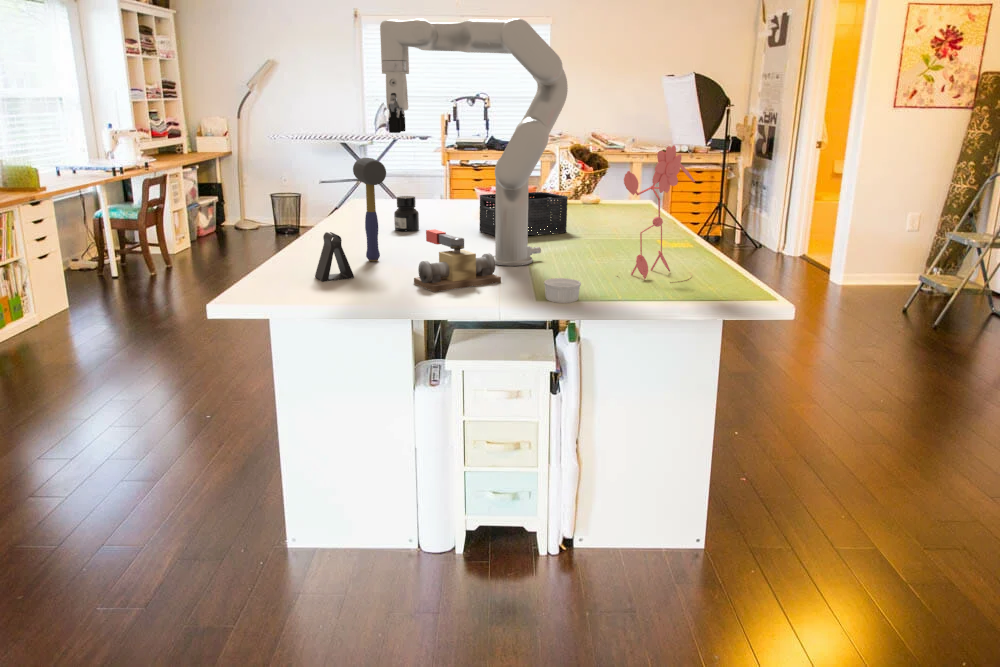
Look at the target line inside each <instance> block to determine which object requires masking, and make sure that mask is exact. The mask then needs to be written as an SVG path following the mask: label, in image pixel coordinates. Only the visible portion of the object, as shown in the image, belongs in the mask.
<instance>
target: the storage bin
mask: <svg viewBox="0 0 1000 667" xmlns="http://www.w3.org/2000/svg"><path fill="white" fill-rule="evenodd" d="M495 209H496V193H489V194H488V193H487V194H480V195H479V232H481V233H485V234H486V235H487V234H488V235H490V236H494V237H495ZM567 218H568V196H566V195H562V194H561V195H560V194H556V193H550V192H545V191H544V192H543V191H542V192H541V191H533V192H528V227H529V228H528V230H529V231H528V235H537V236H539V235H538V234H550V235H553V234H552V233H561V234H565V233H564V232H566V233H567V227H568V226H567V223H568V219H567ZM547 226H548V227H547ZM531 227H532V228H531ZM556 228H557V229H556ZM540 229H541V230H540ZM544 229H545V230H544ZM531 230H532V231H531ZM550 231H551V232H550ZM537 232H538V233H537Z"/></svg>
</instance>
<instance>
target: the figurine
mask: <svg viewBox="0 0 1000 667" xmlns="http://www.w3.org/2000/svg"><path fill="white" fill-rule="evenodd" d="M656 157H657V158H656V159H657V161H658V162H657V164H656V165H655V167H654V174H653V177H652V185H651V186H650V187H648V188H645V189H644V190H642V191H639V192H638V190H639V180H638V178H637V177H636V175H635V174H634V173H632V172H631V171H630V170H627V171H626V173H625V174H624V177H623V184H624V187H625V189H626V190H628V192H629V193H630V194H631V195H632V196H634V195H636V196H637V197H638V196H639V195H642V194H643V193H645V192H648V191H650V190H651V191H652V192H653V193H654V195H655V198H656V199H657V200H658V201H657V205H658V206H657V209H658V216H655V217H654V218H653V219H652V225H650V226H648V227H647V228H645V229H644V230H642V231H640V234H639V235H640V236H639V237H640V241H639V242H640V243H639V244H640V245H639V246H640V249H639V250H640V252H639V253H640V254H637V256H636V259H635V260H636V261H635V263H636V264H635V266H634V268H633V269H632V270H631V271H632V272H631V273H630V275H631V276H633V275H634V273H635V272H636V271H637V269H638V272H639V273H640V275H641V276H642V277H643V279H646V278H647V277H648V274H649V265H648V262H647V260H646V258H645V256H643V252H642V251H643V244H642V243H643V242H642V241H643V239H642V237H643V236H642V235H643V233H644V232H646V231H647V230H649V229H652V228H653V227H659V228H660V250H658V251H657V252H658V256H657V257H656V259H655V261H654V262H653V264H652V267H651V268H650V271H651V272H652V271H653V270H654V268H655V267H656V265H657V263H658V261H659V259H661V261H662V263H663V265H664V267H665V268H666V269H667V271H668V272H671V269H670V267H669V265H668V263H667V260H666V259H665V255H663V254H664V253H663V224H664V220H663V218H662V217H661V198H660V196H659V195H658V193H657V191H656V190H659V193H660V194H663V192H665V193H666V194H668V193H669V191H670V189H671V186H672V187H675V186H677V185H678V183H679V178H678V176H677V175H678V174H679V173H680V170H681V171H683V173H684V174H685V176H687V177H688V178H689V179H690V180H691V181H692V182H693V183H695V182H696V180H695V179H694V177H693V176H692V175H691V173H690V172H689V170H688V169H687V168H686V167H685V166H684V165H683V164H682V163H681V161H682V155H681V154H677V147H676V145H672V146H669V145H667V147H666V148H665V151H663V150H659V151H658V152H657V156H656ZM657 183H658V186H656V184H657ZM689 274H690V275H691V276H692V275H693V274H692V273H691V272H689ZM615 277H616V278H619V279H620V276H618V275H615ZM690 279H692V277H690V278H688V279H685V280H680V281H677V283H682V282H685V281H686V282H688V281H690ZM669 283H670V284H673V283H675V281H669Z"/></svg>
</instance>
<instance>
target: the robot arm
mask: <svg viewBox="0 0 1000 667" xmlns="http://www.w3.org/2000/svg"><path fill="white" fill-rule="evenodd" d="M379 31H380V32H379V34H380V35H379V36H380V58H381V59H380V61H381V63H380V64H381V74H383V75H385V96H386V97H385V98H386V109H387V110H388V133H390V134H400V133H402V132H406V117H405V116H406V115H405V111H408V110H409V99H408V97H409V96H408V82H407V75H409V74H410V60H409V48H416V49H419V50H421V51H431V52H434V51H435V52H436V51H437V52H463V53H471V54H472V53H473V54H474V53H481V54H482V53H483V54H486V53H487V54H508V55H509V54H511V55H512V56H513V57H514V59H516V60H517V61H518V62H519V64H521V65H522V67H524V68H525V70H527V72H528V73H529V74H530V75H531V76H532V78H533V79H534V80H535V82H536V84H537V86H536V87H537V88H536V93H535V95H534V97H533V99H532V101H531V102H530V105H529V107H528V109H527V110H526V112H525V115H523V118H522V120H521V121H520V122H519V123H518V125H517V126H516V128H515V130H514V132H513V134H512V136H511V137H510V139H509V141H508V143H507V145H506V147H505V149H504V150H503V153H502V154H501V155H500V157H499V158H498V160H497V161H496V163H495V167H494V177H495V194H496V209H495V236H494V237H495V238H494V239H495V241H494V243H495V245H494V246H495V250H494V254H495V255H492V256H493V257H494V260H495V265H498V266H507V267H508V266H509V267H510V266H511V267H512V266H513V267H514V266H515V267H517V266H526V265H530V264H532V263H533V257H531V256H532V255H536V254H540V253H541V252H542V247H540V246H535V247H532V246H530V245H528V244H529V242H528V237H529V236H528V193H529V184H530V183H529V182H530V180H529V179H530V177H531V175H532V173H533V171H534V170H535V168H536V166H537V164H538V163H539V162H540V160H541V157H542V155H543V154H544V152H545V150H546V148H547V146H548V144H549V143H548V142H549V137H550V133H551V131H552V129H553V128H554V126H555V124H556V123H557V120H558V118H559V116H560V114H561V112H562V111H563V108H564V105H565V103H566V101H567V98H568V97H567V96H568V92H569V91H568V89H569V88H568V79H567V78H568V77H567V75H566V71H565V70H564V67H563V62H562V59H561V57H560V55H559V54H558V53H557V52H556V51H555V50H554V49H553V48H552V47H551V46H550V45H549V44H548V43H547V42H546V41H545V40H544V39H543V38H542V37H541V36H540V34H539V33H537V31H536V30H535V29H534V28H533V26H531V24H529V23H528V21H526V20H525V19H522V18H515V17H514V18H512V19H508V20H506V19H505V20H504V19H503V20H498V19H495V20H494V19H479V18H475V19H474V18H473V19H468V20H467V19H466V20H464V21H460V22H459V21H458V22H430V21H428V20H427V19H425V18H415V19H414V18H413V19H407V20H402V19H401V20H400V19H399V20H398V19H387V20H386V19H385V20H383V21H382V22H381V23H380V26H379Z"/></svg>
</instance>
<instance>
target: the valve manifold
mask: <svg viewBox="0 0 1000 667" xmlns="http://www.w3.org/2000/svg"><path fill="white" fill-rule="evenodd" d="M438 256H439V257H438V262H433V263H432V262H431V263H430V262H429V261H428V260H424V261H423V260H422V261H420V262H419V264H418V270H417V272H418V276H417V277H413V283H414V285H417V286H419V287H421V288H423V289H426V290H429V291H431V292H433V293H436V292H437V293H438V292H445V291H449V290H458V289H464V288H471V287H478V286H487V285H493V284H500V283H501V282H502V276H500V275H497V274H495V270H496V264H495V260H494V257H493V256H494V255H493V254H491V253H489V252H488V253H483V254H482V255H481V257H477V254H476V253H475V252H471V251H469V250H466V249H452V250H446V251H445V250H443V251H439V252H438Z"/></svg>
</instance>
